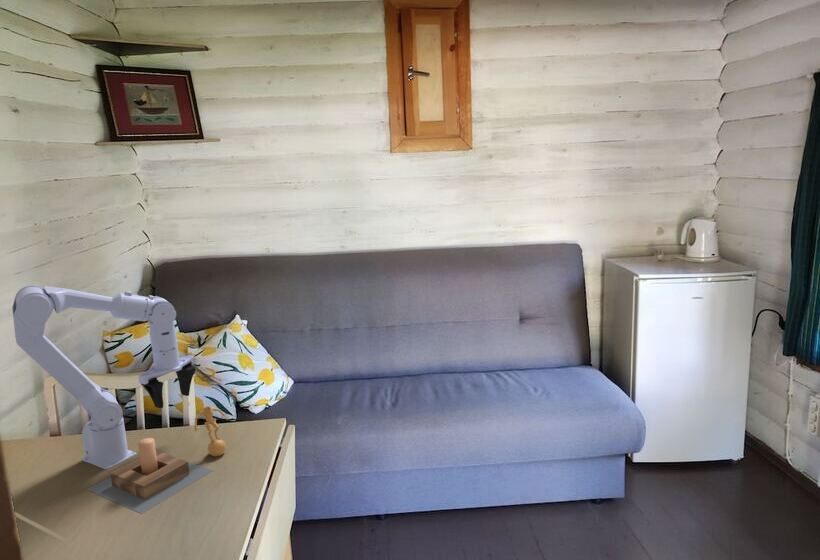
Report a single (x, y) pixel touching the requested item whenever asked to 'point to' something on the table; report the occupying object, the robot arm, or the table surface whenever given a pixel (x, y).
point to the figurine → (216, 445)
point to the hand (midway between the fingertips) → (172, 401)
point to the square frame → (150, 476)
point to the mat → (143, 505)
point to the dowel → (148, 456)
